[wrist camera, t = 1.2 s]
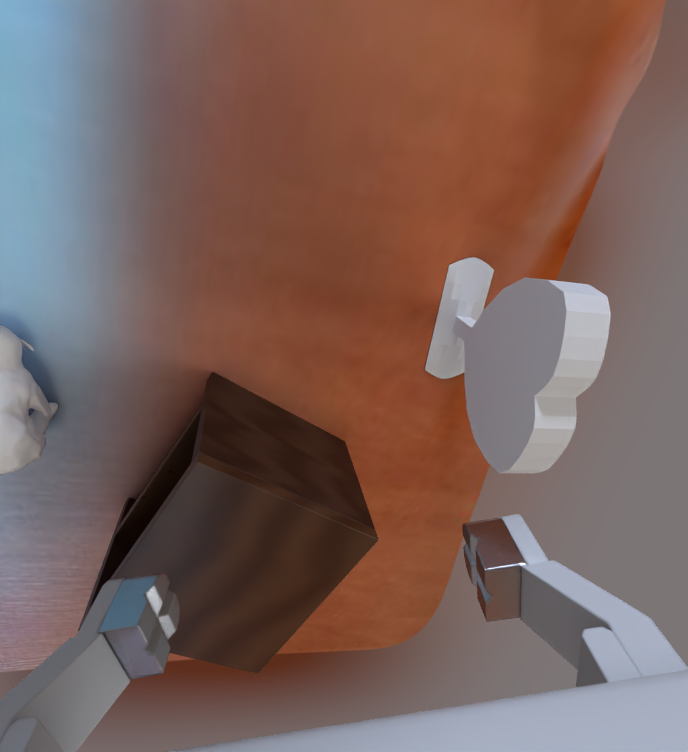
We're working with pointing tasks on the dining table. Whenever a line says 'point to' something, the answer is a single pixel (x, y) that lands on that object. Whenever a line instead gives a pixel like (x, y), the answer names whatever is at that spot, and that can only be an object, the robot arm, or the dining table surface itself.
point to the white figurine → (20, 407)
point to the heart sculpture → (519, 360)
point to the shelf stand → (243, 527)
